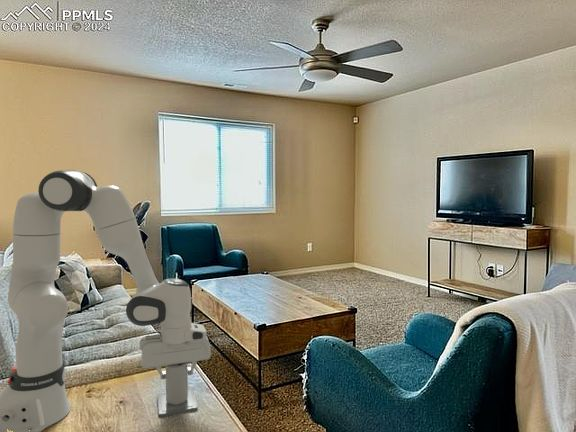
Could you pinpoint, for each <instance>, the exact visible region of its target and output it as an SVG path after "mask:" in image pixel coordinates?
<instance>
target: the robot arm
mask: <svg viewBox="0 0 576 432" xmlns="http://www.w3.org/2000/svg"><path fill="white" fill-rule="evenodd" d="M38 185H39V186H38V192H33V193H32V192H31V193H27V194H25V195H22V196H21V197H20V198H19V199H18V201H17V203H16V205H15V206H16V207H15V210H14V216H13V226H12V267H11V272H10V280H9V288H8V293H7V301H8V302H7V303H8V306H9V308H10V309H11V310H12V312H13V313H14V314H15V315H16V317H17V320H18V332H17V333H18V334H17V339H16V340H17V341H16V343H15V364H16V365H15V366H13V367H12V369H11V370H10V374H9V375H8V379H7V386H6V387H5V388H3V389H1V391H0V432H7V429H8V430H9V431H10V430H11V431H13V432H42V431H44V429H46V428H48V427H50V426H52V425H54V424H56V423H58V422H59V421H61V420H63V419H64V418H65V417H66V416H67V415H68V414H69V413H70V411H71V410H72V409H71V408H72V406H71V403H70V401H69V399H68V395H67V391H66V385H65V382H66V368H65V362H64V361H63V344H62V342H63V341H62V340H63V331H64V325H65V320H66V318H67V316H68V313H69V303H68V300H67V298H66V297H65V295H64V293H63V292H62V291H60V290H59V289H57V288H56V286H55V278H56V272H57V268H58V265H59V263H60V262H61V219H62V217H63V215H64V213H65V212H83V211H84V212H86V213H87V214H88V215H89V217H90V219H91V222H92V224H93V226H94V229H95V232H96V235H97V238H98V240H99V242H100V244H101V245H102V247H103V248H104V249H105V251H106V252H107V253H109V254H112V255H115V256H118V257H120V258H122V259H123V260H124V262H126V264H127V266H128V268H129V270H130V273H131V275H132V277H133V280H134V282H135V284H136V285H135V286H136V291H135V294H134V295H133V296H132V297H131V298H130V299H129V301H128V303H127V304H126V307H125V314H126V317H127V319H128V320H129V322H130V323H132V324H133V325H135V326H139V327H146V326H153V325H156V324H157V325H158V324H160V333H158V334H153V335H152V334H151V335H145V336H144V337H142V338H141V339H140V340H139V349H140V351H141V359H140V361H141V362H140V365H141V367H142V368H143V369H151V368H155V367H156V368H155V369H156V371H157V372H158V374H159V375H160V377H159V379H160V380H166V370H163V369H162V367H164V366H167V365H172V364H179V363H186V364H187V363H191V365H190V367H189V366H188V367H187V371H188V376H192V375H194V369H195V367H196V366H197V364H198V361H207V360H209V359H210V357H211V356H212V354H211V352H212V350H211V343H210V341H209V338H208V336H207V329H206V327H205V326H204V325H203V324H200V323H195V322H192V318H191V311H192V293H191V288H190V285H189V283H187V281H185V280H183V279H181V278H175V277H174V278H173V277H171V278H166V279H163V281H161V280H160V279H159V278H158V276H157V275H156V273H155V270H154V268H153V264H152V262H151V261H150V260H151V259H150V257H149V255H148V253H147V250H146V248H145V246H144V242H143V240H142V239H143V238H142V234H141V231H140V228H139V227H140V226H139V225H138V222H137V221H138V220H137V219H136V216H135V213H134V210H133V208H132V206H131V203H130V202H129V200H128V198H127V196H126V195H125V193H124V191H123V190H122V189H121V188H120V187H118V186H116V185H112V184H111V185H102V186H98V184H97V182H96V180H95V179H94V177H92V176H91V175H90V174H89V173H86V172H85V171H80V170H75V169H74V170H73V169H64V170H55V171H52V172H49V173H47V174H46V175H45V176H44V177H43V178H42V179H41V181H40V182H39V184H38ZM29 430H30V431H29Z"/></svg>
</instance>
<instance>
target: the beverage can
mask: <svg viewBox="0 0 576 432" xmlns="http://www.w3.org/2000/svg"><path fill="white" fill-rule="evenodd" d="M165 366H166V367H165V373H166V379H165V393H166V401H167V402H168V403H170V404H172V405H179V404H182V403H183V402H185V401H186V400H187V398H188V389H189V387H188V386H189V385H188V383H189V381H188V379H189V377H188V376H189V375H188V364H187V362H186V363H179V364H172V365H165Z"/></svg>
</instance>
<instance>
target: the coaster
mask: <svg viewBox="0 0 576 432" xmlns="http://www.w3.org/2000/svg"><path fill="white" fill-rule="evenodd" d="M157 406H158V407H157V409H158V411H157V412H158V418H160V417H165V416H171V415H176V414H181V413H186V412H193V411H194V412H195V411H198V402H197V399H196V394H195V390H194V387H192V388H188V398H187V400H186V401H185V402H183V403H182V404H179V405H172V404H170V403H168V402H167V401H166V392H161V393H157Z"/></svg>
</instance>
